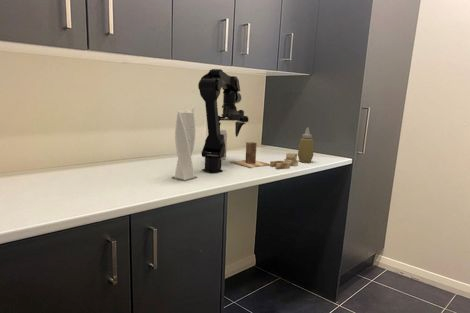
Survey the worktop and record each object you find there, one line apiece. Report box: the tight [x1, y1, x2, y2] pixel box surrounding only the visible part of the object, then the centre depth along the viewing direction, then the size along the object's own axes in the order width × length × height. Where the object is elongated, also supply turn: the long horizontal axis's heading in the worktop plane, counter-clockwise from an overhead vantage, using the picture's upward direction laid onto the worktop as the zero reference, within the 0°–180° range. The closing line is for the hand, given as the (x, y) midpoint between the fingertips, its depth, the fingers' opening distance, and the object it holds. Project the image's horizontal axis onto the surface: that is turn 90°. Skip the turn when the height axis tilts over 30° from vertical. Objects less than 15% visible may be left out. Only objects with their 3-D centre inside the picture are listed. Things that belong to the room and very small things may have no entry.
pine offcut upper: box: [285, 152, 298, 161], centre depth 165 cm, size 4×4×3 cm
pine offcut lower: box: [283, 158, 299, 167], centre depth 165 cm, size 5×5×3 cm
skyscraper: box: [171, 105, 198, 182], centre depth 127 cm, size 8×8×28 cm
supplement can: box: [220, 128, 228, 161], centre depth 172 cm, size 8×8×15 cm
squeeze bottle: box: [297, 127, 314, 164], centre depth 174 cm, size 8×8×18 cm
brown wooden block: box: [244, 141, 257, 164], centre depth 162 cm, size 4×3×10 cm
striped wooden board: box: [229, 159, 270, 169], centre depth 163 cm, size 14×14×1 cm
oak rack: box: [269, 160, 291, 170], centre depth 158 cm, size 7×6×2 cm
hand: (227, 136), depth 159 cm, fingers open, 9 cm apart
